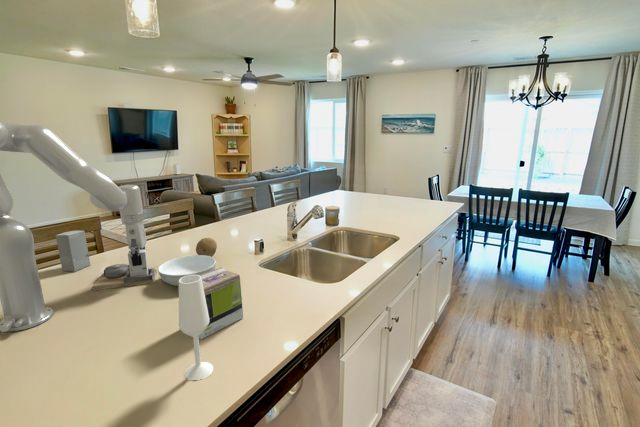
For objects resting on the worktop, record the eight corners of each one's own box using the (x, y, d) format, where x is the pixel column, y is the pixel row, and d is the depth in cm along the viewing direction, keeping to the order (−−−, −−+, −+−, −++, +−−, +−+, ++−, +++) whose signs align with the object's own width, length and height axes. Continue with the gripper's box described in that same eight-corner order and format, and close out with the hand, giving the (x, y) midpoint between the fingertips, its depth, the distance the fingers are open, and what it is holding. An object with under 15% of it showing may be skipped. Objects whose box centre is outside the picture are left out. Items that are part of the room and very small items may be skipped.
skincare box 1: (74, 272, 139) (68, 235, 135) (60, 271, 140) (53, 234, 137) (92, 264, 147) (86, 230, 143) (78, 263, 148) (72, 229, 145)
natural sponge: (204, 264, 148) (202, 242, 145) (192, 259, 153) (190, 238, 151) (221, 258, 155) (219, 237, 152) (209, 254, 160) (208, 234, 158)
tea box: (224, 308, 110) (221, 266, 107) (243, 318, 104) (241, 274, 101) (181, 328, 99) (176, 281, 96) (200, 341, 93) (195, 292, 90)
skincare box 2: (130, 284, 128) (126, 254, 125) (132, 279, 132) (128, 250, 129) (148, 281, 130) (145, 251, 128) (149, 277, 134) (146, 248, 132)
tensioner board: (153, 282, 129) (151, 270, 128) (93, 290, 123) (90, 277, 122) (157, 269, 142) (156, 258, 141) (103, 275, 136) (101, 264, 134)
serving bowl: (193, 266, 145) (192, 251, 144) (228, 276, 135) (227, 260, 133) (148, 284, 128) (145, 267, 126) (184, 297, 117) (182, 279, 116)
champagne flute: (188, 385, 77) (178, 288, 71) (180, 368, 82) (170, 277, 76) (217, 373, 80) (209, 280, 75) (208, 358, 86) (200, 270, 80)
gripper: (140, 223, 119) (147, 267, 123) (147, 211, 135) (153, 251, 139) (116, 225, 116) (124, 270, 121) (126, 213, 132) (133, 254, 137)
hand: (139, 260), depth 130 cm, fingers open, 9 cm apart
